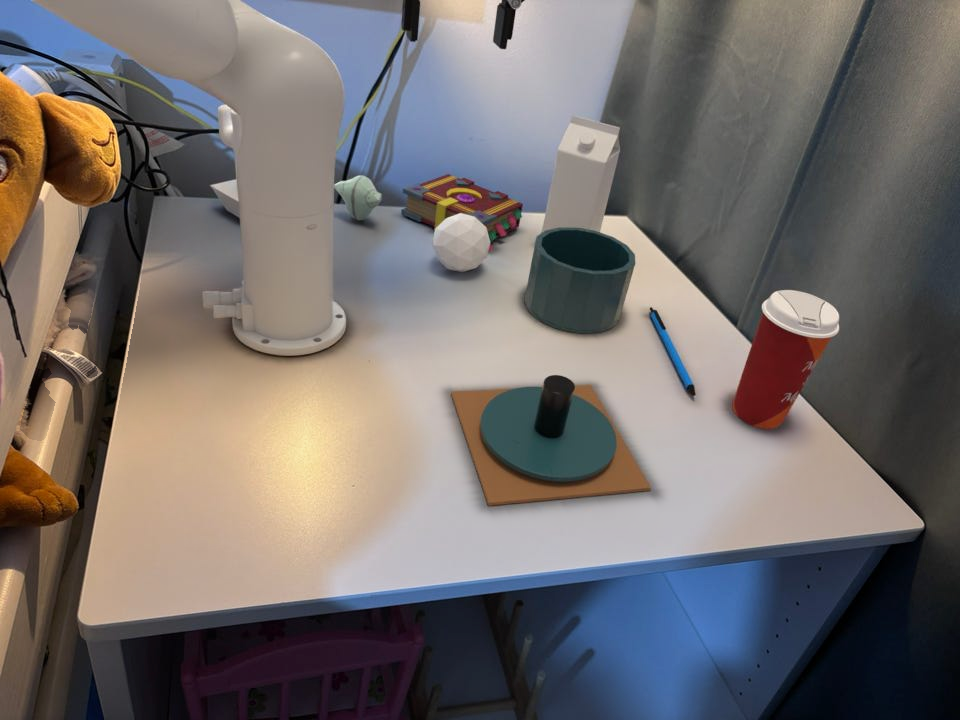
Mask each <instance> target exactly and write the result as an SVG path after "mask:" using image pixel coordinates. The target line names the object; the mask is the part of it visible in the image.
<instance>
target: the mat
mask: <svg viewBox="0 0 960 720" xmlns="http://www.w3.org/2000/svg"><path fill="white" fill-rule="evenodd" d="M511 389H512V388H498V389H497V388H495V389H476V390H457V391H451V392H450V397H451V398H452V402H453V405H454V408H455V410H456V413H457V417H458V419H459V423H460V425H461V429H462V431H463V432H462V433H463V434H464V438H465V440H466V444H467V446H468V449H469V452H470V455H471V459H472V461H473V464H474V468H475V470H476V474H477V476H478V479H479V482H480V486H481V488H482V491H483V494H484V497H485V499H486V503H487V506H489V507H490V506H491V507H492V506H499V505H500V506H502V505H512V504H522V503H532V502H533V503H534V502H542V501H554V500H563V499H564V500H565V499H575V498H587V497H597V496H607V495H608V496H609V495H616V494H628V493H629V494H630V493H638V492H650V491H651V489H652V486H651V485H650V483H649V481H648V480H647V478H646V476H645V474H644V473H643V471H642V469H641V468H640V466H639V465H638V462H637V461H636V459H635V458H634V456H633V454H632V452H631V450H630V449H629V447H628V446H627V444H626V442H625V441H624V439H623V437H622V435H621V433H620V432H619V430H618V429H617V427H616V425H615V424H614V422H613V420H612V419H611V417H610V415H609V413H608V411H607V410H606V408H605V407H604V404H603V403H602V402H601V399H600V398H599V397H598V395H597V393H596V391H595V390H594V388H593V386H592V385H591V384H582V385H581V384H577V385H576V384H575V390H574V394H573V395H576V396H578V397H580V398H582V399H584V400H586V401H587V402H589V403H591V404H592V405H594V406H595V407H596V408H598V409H599V410H600V411H601V412H602V413H603V414H604V415H605V416H606V417H607V419H608V420H609V421H610V423H611V424H612V426H613V428H614V431H615V434H616V439H617V446H616V451H615V454H614V457H613V459H612V461H611V462H610V464H609V465H608V466H607V467H606V468H605V469H604V470H602V471H601V472H600V473H598V474H596V475H594V476H592V477H589V478H586V479H582V480H578V481H570V482H557V481H547V480H542V479H538V478H533V477H530V476H528V475H525V474H522V473H520V472H518V471H516V470H514V469H512V468H510V467H509V466H507V465H506V464H504V463H503V462H501V461H500V460H499V459H498V458H497V457H496V456H494V455H493V453H492V452H491V451H490V450H489V449H488V447H487V446H486V444H485V442H484V440H483V438H482V435H481V431H480V422H481V415H482V413H483V410H484V408H485V407H486V405H487V404H488V403H489V402H490V401H491V400H492V399H493V398H494V397H496V396H497V395H499V394H501V393H503V392H505V391H508V390H511Z"/></svg>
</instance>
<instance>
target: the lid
mask: <svg viewBox="0 0 960 720" xmlns="http://www.w3.org/2000/svg"><path fill="white" fill-rule="evenodd" d="M575 386H576V384H575V383H574V382H573V380H571V379H570V378H568V377H567V376H564V375H559V374H552V375H548V376H547V377H545V378H544V380H543V382H542V386H522V387H516V388H510V389H511V390H508V391H505V392H503V393H501V394H499V395H497V396H496V397H494V398H493V399H492V400H491V401H490V402H489V403H488V404H487V405H486V407H485V408H484V410H483V413H482V415H481V422H480V431H481V435H482V438H483V440H484V442H485V444H486V446H487V447H488V449H489V450H490V451H491V452H492V453H493V455H494V456H496V457H497V458H498V459H499V460H500V461H501V462H503V463H504V464H506V465H507V466H509V467H510V468H512V469H514V470H516V471H518V472H520V473H522V474H525V475H528V476H530V477H533V478H538V479H542V480H547V481H557V482H570V481H578V480H582V479H586V478H589V477H592V476H594V475H596V474H598V473H600V472H601V471H602V470H604V469H605V468H606V467H607V466H608V465H609V464H610V462H611V461H612V459H613V457H614V454H615V451H616V446H617V439H616V434H615V431H614V428H613V426H612V424H611V423H610V421H609V420H608V419H607V417H606V416H605V415H604V414H603V413H602V412H601V411H600V410H599V409H598V408H596V407H595V406H594V405H592V404H591V403H589V402H587V401H586V400H584V399H582V398H580V397H578V396H576V395H573V394H574V390H575Z"/></svg>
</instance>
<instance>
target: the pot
mask: <svg viewBox="0 0 960 720" xmlns="http://www.w3.org/2000/svg"><path fill="white" fill-rule="evenodd" d="M530 263H531V264H530V269H529V274H528V280H527V284H526V289H525V290H526V291H525V294H524V295H525V296H524V305H525V308H526V309H527V310H528V312H529V313H530V314H531V315H532V316H533V317H534V318H535V319H537V320H538V321H540V322H541V323H543V324H545V325H547V326H549V327H551V328H555V329H557V330H561V331H564V332H568V333H573V334H574V333H575V334H598V333H602V332H606V331H608V330H610V329H612V328H613V327H615V326H616V325H617V324H618V322H619V320H620V318H621V316H622V312H623V309H624V305H625V301H626V298H627V293H628V291H629V287H630V284H631V280H632V277H633V273H634V270H635V266H636V254H635V253H634V251H633V250H632V249H631V248H630V247H629V245H627V244H626V243H624V242H623V241H621V240H619V239H618V238H616V237H614V236H611V235H609V234H606V233H603V232H601V231H600V232H597V231H594V230H588V229H583V228H567V227H559V228H554V229H550V230H545V231H544V232H542V231H541V233H539V234H538V235H536V237H535V243H534V248H533V253H532V258H531V262H530Z"/></svg>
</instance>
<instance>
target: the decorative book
mask: <svg viewBox="0 0 960 720" xmlns="http://www.w3.org/2000/svg"><path fill="white" fill-rule="evenodd" d="M402 194H404V195H406V196H407V197H406V207H405V208H402V209H401V210H400V211H401V212H400V214H401V215H403V216H405V217H407V218H409V219H411V220H412V219H413V220H414V221H417V222H420V223H421V222H423V223H425V224H427V225H429V226H431V227H433V228H434V229H433V230H434V231H435V229H436V228H437V227H438V226H439V225H440V224H441V223H442V222H443V221H444V220H445V219H446V218H449V217H451V216H454V215H457V214H459V213H462V214H466V215H470V216H474V217H476V218H477V219H478V220H479V221H480V222H481V223H482V224H483V225H484V226H485V227H486V228H487V232H488V235H489V239H490V247H489V251H488V252H490V251H492V250H494V247H493V245H492V244H491V243H492V242H494V241H495V240H496V239H497V238H500V237H502V238H503V237H505V236H506V235H508V233H509V232H511V231H513V230H515V229H517V228H519V227H520V223H521V218H523V214H522V211H523V207H524V204H523V203H522V202H520V201H517V200H514V199H512V198H510V197H509V195H508V194H506V193H504V192H501V191H499V190H497V191H492V190H490V189H487V188H485V187H482V186H479V185H477V184H475V181H473V180H472V179H468V178H466V177H461V178H459V177H457V176H454V175H452V174H449V173H447V174H444V175H442V176H439V177H436V178H432V179H430V180H427V181H424V182H422V183H420V182H418V183H415V184H412V185H409V186H406V187H403V188H402Z"/></svg>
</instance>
